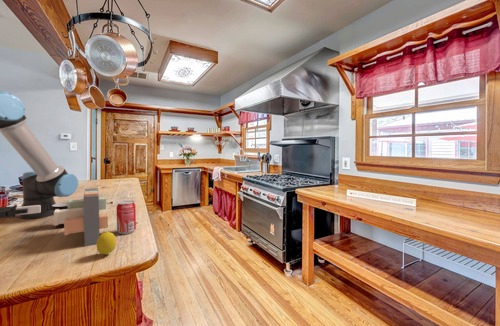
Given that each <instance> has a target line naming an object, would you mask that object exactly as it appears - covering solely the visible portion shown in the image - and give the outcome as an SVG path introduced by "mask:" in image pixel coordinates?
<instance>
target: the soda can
mask: <svg viewBox="0 0 500 326" xmlns="http://www.w3.org/2000/svg"><path fill="white" fill-rule="evenodd" d="M115 211H116V232H117V233H118V234H119V235H129V234H133V233H134V232H135V231H136V230H137V219H136V218H137V217H136V214H137V213H136V211H137V210H136V204H135V201H134V200H122V201H118V202H117V205H116V210H115Z"/></svg>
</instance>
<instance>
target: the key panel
mask: <svg viewBox="0 0 500 326" xmlns="http://www.w3.org/2000/svg"><path fill="white" fill-rule="evenodd" d="M99 195H100V194H99V188H98V187H95V188H94V187H93V188H85V189H84V193H83V199H84V231H83V232H84V233H83V234H84V247H89V246H93V245H94V246H95V245H97V240H98V237H99V236H100V229H99V215H100V210H99V198H100V197H99Z"/></svg>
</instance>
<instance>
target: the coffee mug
mask: <svg viewBox="0 0 500 326" xmlns="http://www.w3.org/2000/svg"><path fill="white" fill-rule="evenodd" d="M52 207H53V213H54V211H55V209H59V210H63V209H68V201H65V202H58V203H56V204H54V205H52ZM55 228H56V229H64V224H58V225H56V226H55Z"/></svg>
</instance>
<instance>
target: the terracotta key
mask: <svg viewBox="0 0 500 326" xmlns="http://www.w3.org/2000/svg"><path fill="white" fill-rule="evenodd" d="M108 217H109V216H108V213H102V214H100V213H99V230H103V229H108V228H109V227H108V226H109V225H108V223H109V222H108ZM63 229H64V234H63V235H64V236H68V235H69V234H76V233H81V232H84V217H76V218H69V217H68V218H65V220H64V228H63Z"/></svg>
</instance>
